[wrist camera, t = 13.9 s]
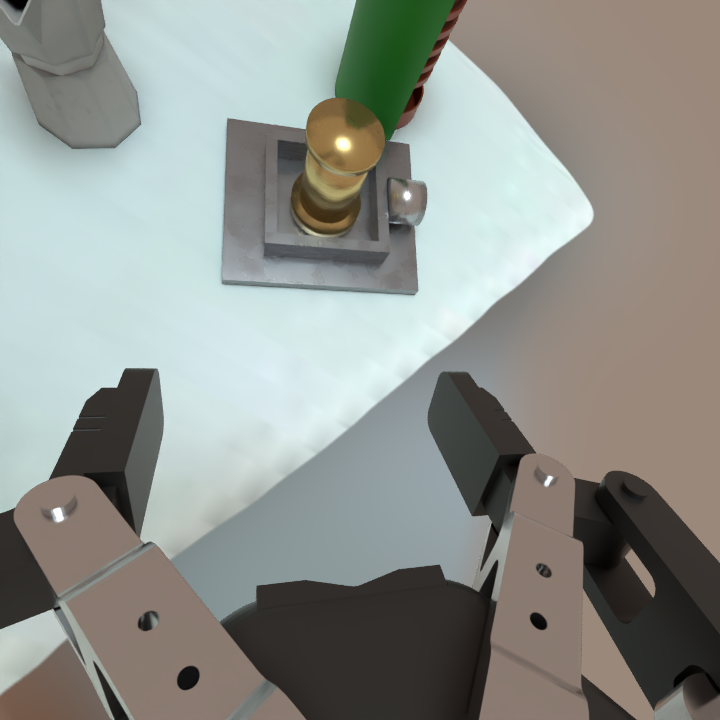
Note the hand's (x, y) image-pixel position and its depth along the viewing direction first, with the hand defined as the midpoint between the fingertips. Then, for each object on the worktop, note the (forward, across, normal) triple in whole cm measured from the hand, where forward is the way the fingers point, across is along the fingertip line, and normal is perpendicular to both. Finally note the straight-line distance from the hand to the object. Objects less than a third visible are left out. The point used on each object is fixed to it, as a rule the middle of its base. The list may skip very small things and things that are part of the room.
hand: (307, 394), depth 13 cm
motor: (+43, -12, -6) cm, 45 cm away
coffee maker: (+40, +16, -3) cm, 43 cm away
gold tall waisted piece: (+32, -5, +3) cm, 33 cm away
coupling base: (+33, -5, +3) cm, 34 cm away
